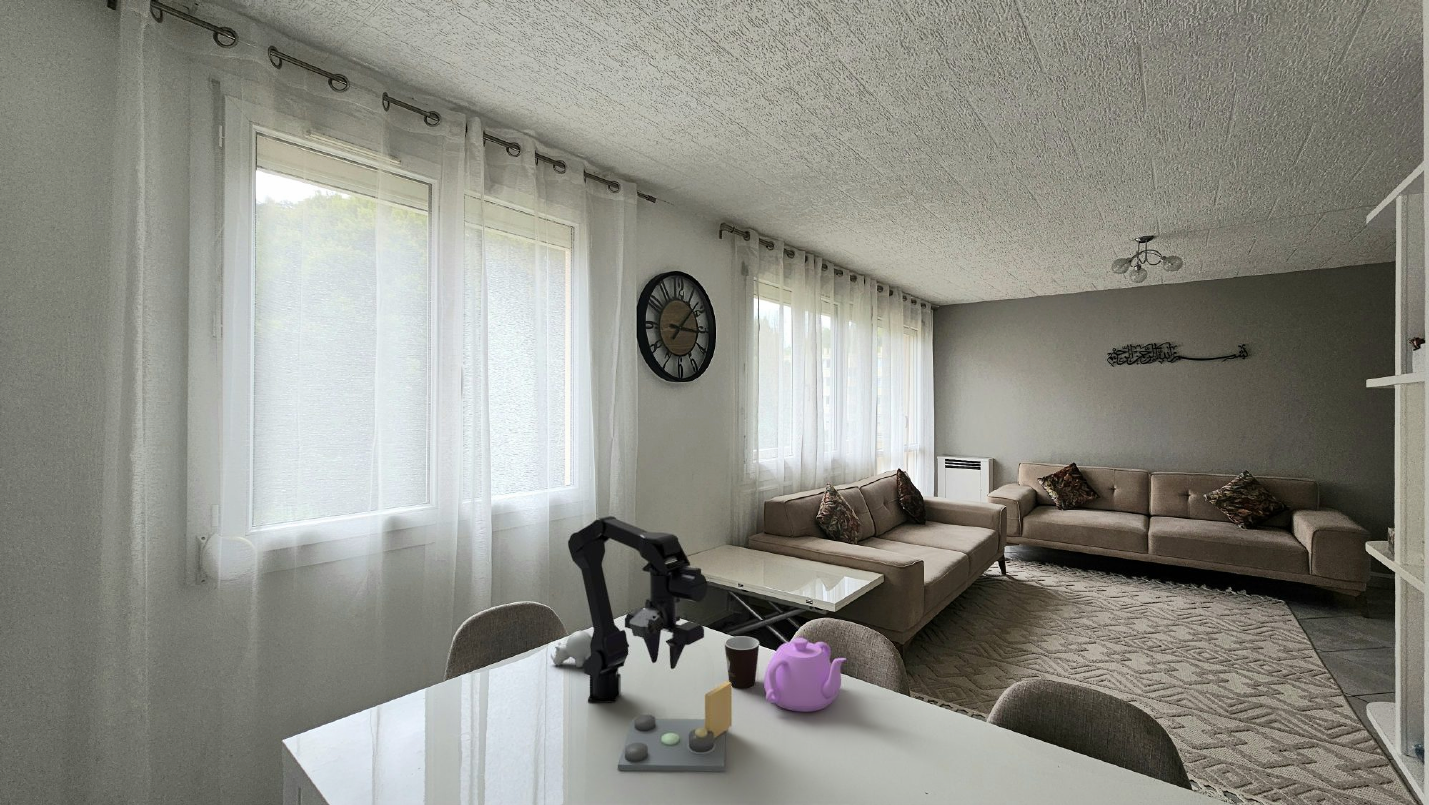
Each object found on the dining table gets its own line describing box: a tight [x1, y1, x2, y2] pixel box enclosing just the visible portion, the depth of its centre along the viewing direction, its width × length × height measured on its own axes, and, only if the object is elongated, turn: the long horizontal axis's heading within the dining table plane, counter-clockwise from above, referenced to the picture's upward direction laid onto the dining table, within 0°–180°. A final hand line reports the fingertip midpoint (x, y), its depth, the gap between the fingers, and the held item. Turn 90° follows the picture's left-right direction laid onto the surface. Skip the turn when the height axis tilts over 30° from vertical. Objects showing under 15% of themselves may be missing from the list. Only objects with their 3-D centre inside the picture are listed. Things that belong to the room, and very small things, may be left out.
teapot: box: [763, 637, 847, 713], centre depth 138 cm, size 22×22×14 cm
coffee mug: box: [724, 635, 760, 690], centre depth 150 cm, size 12×9×10 cm
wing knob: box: [689, 680, 733, 752], centre depth 122 cm, size 12×5×9 cm, turn 143°
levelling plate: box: [617, 713, 726, 772], centre depth 121 cm, size 20×17×2 cm
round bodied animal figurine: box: [550, 630, 593, 668], centre depth 161 cm, size 7×12×8 cm, turn 89°
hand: (663, 665), depth 131 cm, fingers open, 5 cm apart
